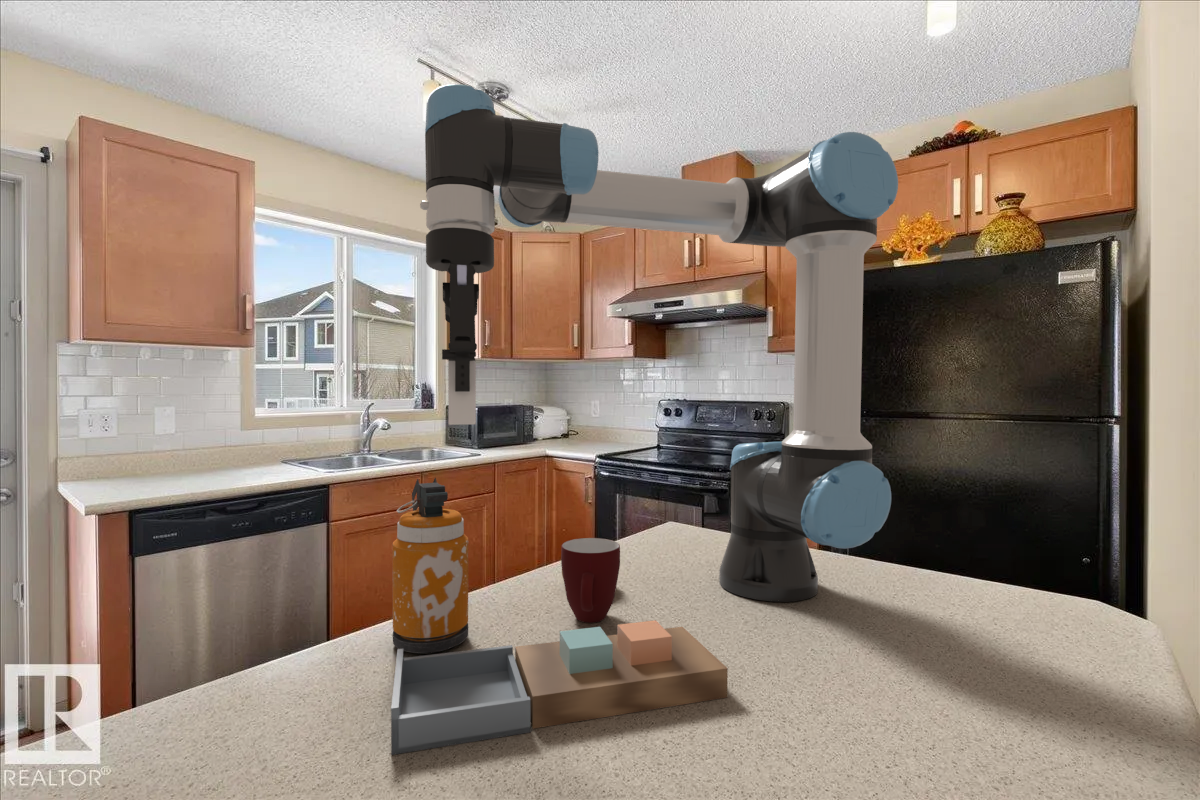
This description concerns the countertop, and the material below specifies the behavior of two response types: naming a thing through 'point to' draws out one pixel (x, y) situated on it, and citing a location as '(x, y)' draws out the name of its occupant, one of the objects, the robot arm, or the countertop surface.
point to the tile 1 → (586, 650)
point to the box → (457, 699)
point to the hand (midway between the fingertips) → (460, 421)
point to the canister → (430, 574)
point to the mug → (590, 576)
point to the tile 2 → (644, 642)
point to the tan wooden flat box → (618, 682)
